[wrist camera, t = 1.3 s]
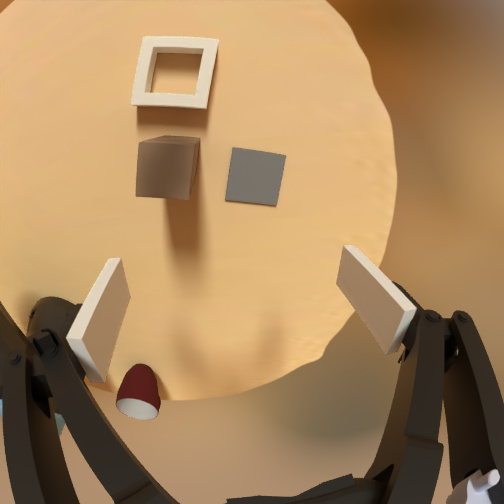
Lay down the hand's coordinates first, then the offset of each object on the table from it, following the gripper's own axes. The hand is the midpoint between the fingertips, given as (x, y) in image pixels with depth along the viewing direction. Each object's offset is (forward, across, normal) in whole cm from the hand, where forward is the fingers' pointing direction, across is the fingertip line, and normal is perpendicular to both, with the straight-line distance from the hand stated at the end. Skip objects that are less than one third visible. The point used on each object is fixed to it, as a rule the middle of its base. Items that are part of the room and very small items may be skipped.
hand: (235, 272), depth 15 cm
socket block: (+22, -5, +15) cm, 27 cm away
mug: (+22, -17, -36) cm, 46 cm away
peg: (+22, -5, +5) cm, 23 cm away
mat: (+22, +5, +1) cm, 22 cm away
